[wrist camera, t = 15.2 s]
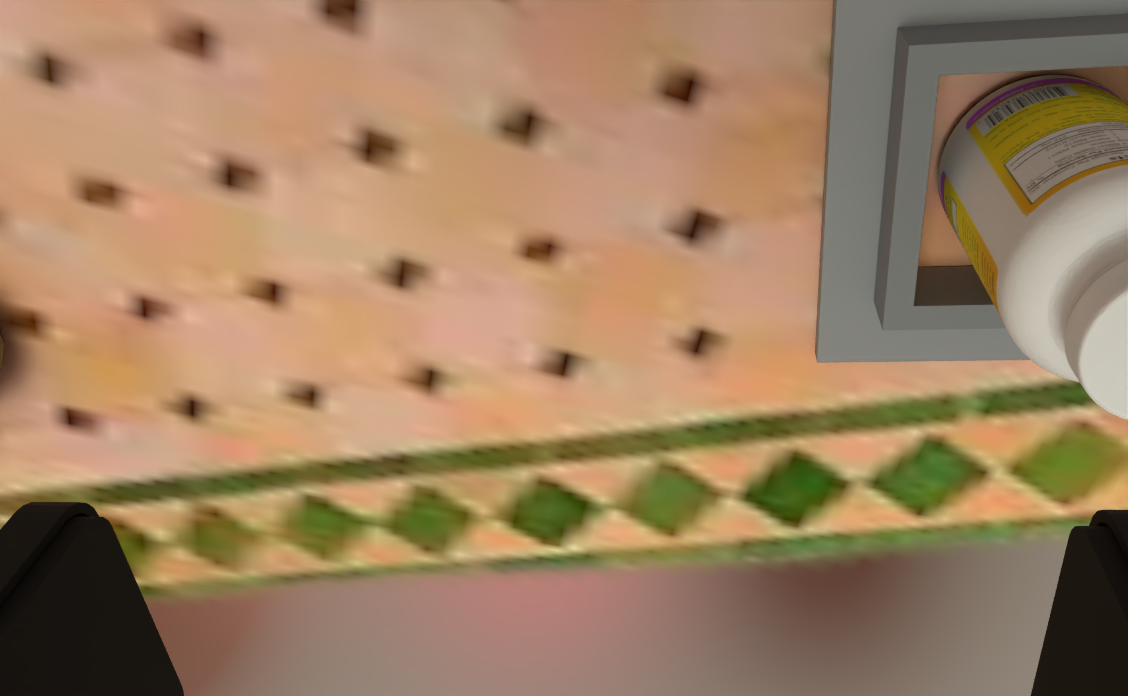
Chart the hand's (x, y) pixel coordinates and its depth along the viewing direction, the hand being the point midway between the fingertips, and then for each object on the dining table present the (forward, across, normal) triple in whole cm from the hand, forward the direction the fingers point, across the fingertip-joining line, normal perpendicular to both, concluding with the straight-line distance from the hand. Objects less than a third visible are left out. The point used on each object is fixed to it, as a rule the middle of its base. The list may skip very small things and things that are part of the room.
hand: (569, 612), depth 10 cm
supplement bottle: (+28, -13, +7) cm, 32 cm away
